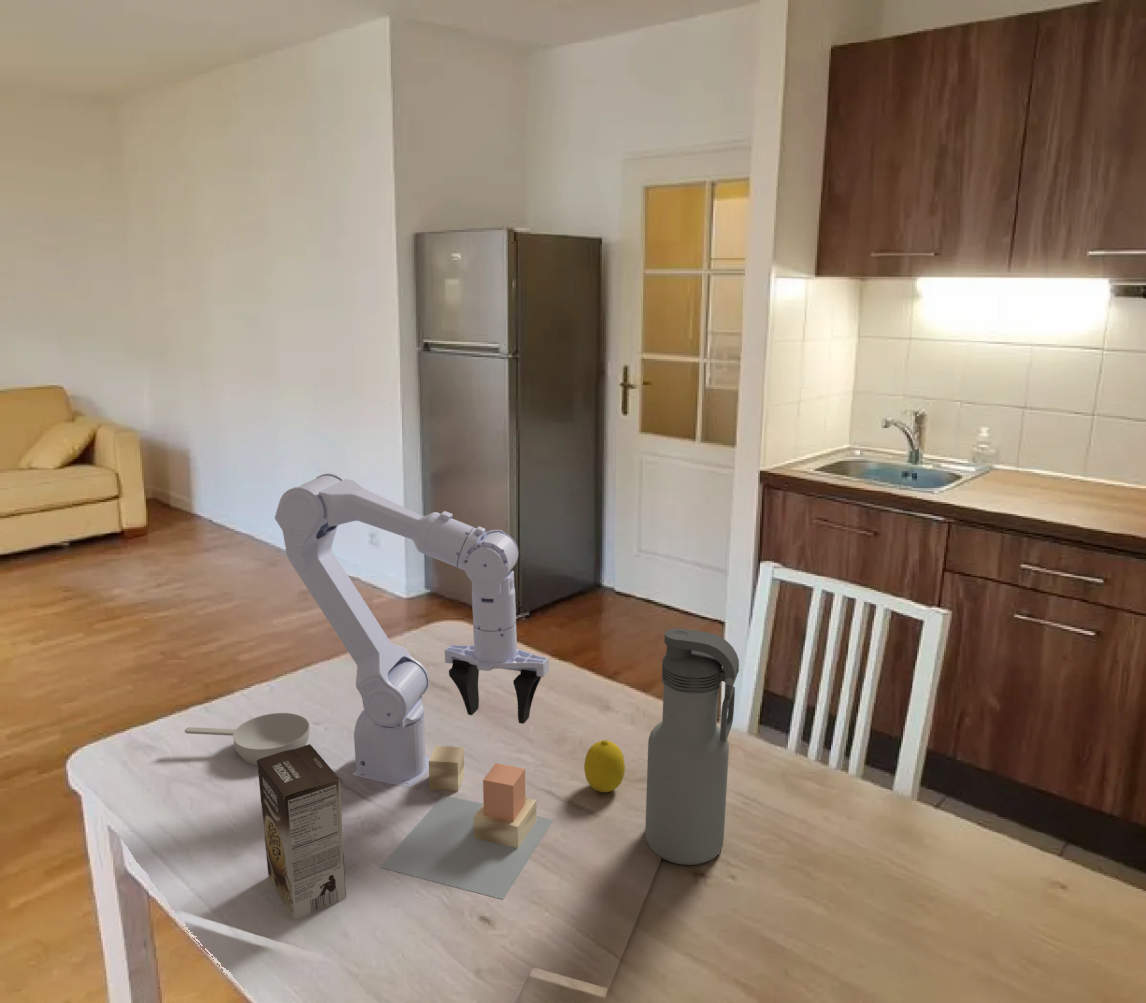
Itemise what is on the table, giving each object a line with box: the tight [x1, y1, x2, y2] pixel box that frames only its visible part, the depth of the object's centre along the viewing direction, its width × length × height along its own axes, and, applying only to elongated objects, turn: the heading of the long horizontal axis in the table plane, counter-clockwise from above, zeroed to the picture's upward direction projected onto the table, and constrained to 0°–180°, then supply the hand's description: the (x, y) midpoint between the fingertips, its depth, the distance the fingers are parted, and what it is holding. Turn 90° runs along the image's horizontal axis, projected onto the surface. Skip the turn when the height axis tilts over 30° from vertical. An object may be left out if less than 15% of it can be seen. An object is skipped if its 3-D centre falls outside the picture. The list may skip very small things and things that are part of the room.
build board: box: [379, 794, 554, 900], centre depth 109 cm, size 16×16×1 cm
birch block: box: [428, 745, 465, 792], centre depth 122 cm, size 4×4×5 cm
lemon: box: [583, 739, 626, 793], centre depth 120 cm, size 6×6×8 cm
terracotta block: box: [482, 763, 526, 822], centre depth 110 cm, size 4×4×5 cm
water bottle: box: [644, 627, 740, 866], centre depth 107 cm, size 10×10×28 cm
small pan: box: [184, 712, 310, 767], centre depth 130 cm, size 11×18×4 cm, turn 92°
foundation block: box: [474, 797, 537, 848], centre depth 111 cm, size 6×6×3 cm
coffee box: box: [256, 743, 347, 921], centre depth 99 cm, size 9×6×16 cm
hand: (498, 716), depth 120 cm, fingers open, 7 cm apart
